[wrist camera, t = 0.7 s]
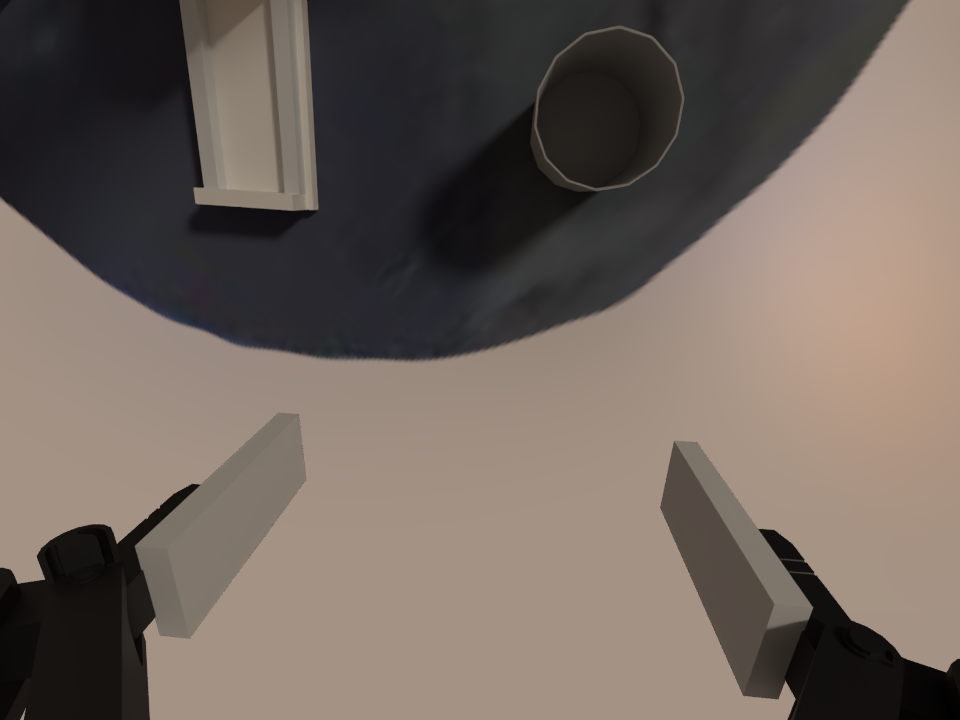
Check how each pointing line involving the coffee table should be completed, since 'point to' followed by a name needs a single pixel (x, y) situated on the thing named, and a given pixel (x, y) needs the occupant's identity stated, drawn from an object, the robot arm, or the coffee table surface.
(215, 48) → the track
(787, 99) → the coffee table surface
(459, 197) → the coffee table surface
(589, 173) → the cup
